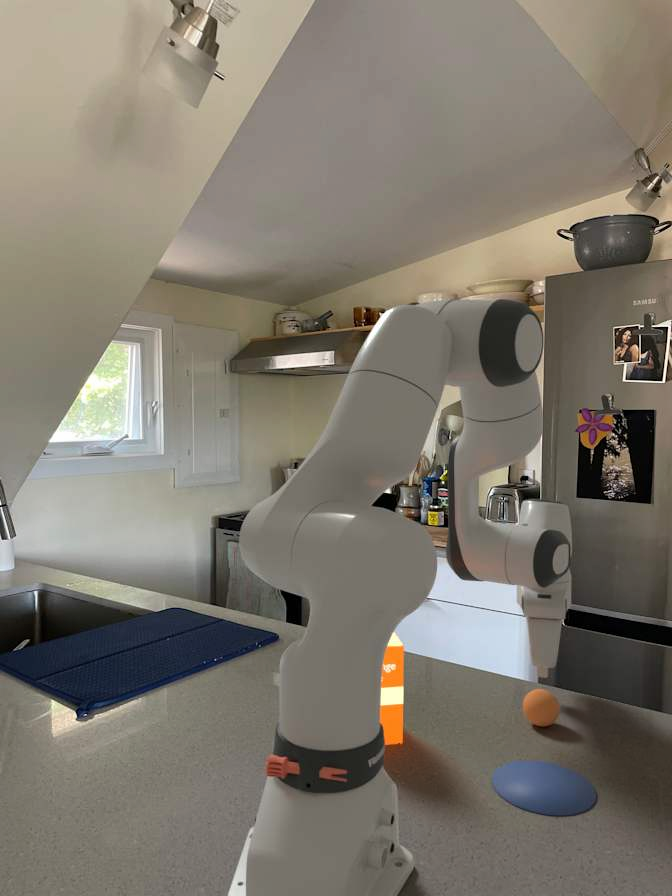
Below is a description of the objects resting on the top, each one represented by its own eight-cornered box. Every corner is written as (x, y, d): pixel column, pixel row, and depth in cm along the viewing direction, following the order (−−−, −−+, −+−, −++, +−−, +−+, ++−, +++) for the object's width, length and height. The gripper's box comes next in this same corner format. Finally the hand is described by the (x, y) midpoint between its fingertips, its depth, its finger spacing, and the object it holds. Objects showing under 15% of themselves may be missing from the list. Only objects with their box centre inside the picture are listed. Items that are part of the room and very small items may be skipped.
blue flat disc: (600, 823, 83) (600, 821, 83) (489, 805, 86) (489, 804, 86) (591, 769, 95) (591, 768, 95) (494, 756, 99) (494, 755, 99)
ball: (559, 734, 106) (560, 699, 106) (522, 730, 107) (523, 695, 107) (558, 719, 111) (559, 685, 111) (522, 715, 113) (523, 681, 112)
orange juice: (352, 748, 101) (353, 612, 100) (339, 721, 110) (340, 596, 109) (404, 743, 103) (405, 609, 102) (387, 717, 111) (388, 594, 110)
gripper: (524, 578, 128) (523, 651, 129) (523, 609, 109) (522, 695, 110) (560, 580, 127) (559, 655, 127) (566, 612, 107) (564, 700, 108)
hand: (542, 674), depth 118 cm, fingers closed
